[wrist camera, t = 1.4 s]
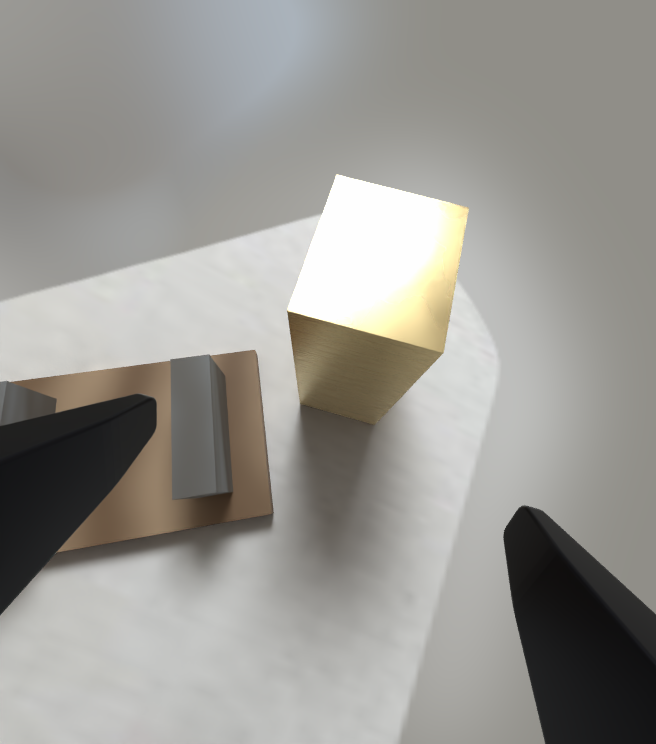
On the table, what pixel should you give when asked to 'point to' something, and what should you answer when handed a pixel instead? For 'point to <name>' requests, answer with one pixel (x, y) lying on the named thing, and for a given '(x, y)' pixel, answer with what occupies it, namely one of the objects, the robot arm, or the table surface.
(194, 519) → the vise
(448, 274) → the brass block
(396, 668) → the table surface
